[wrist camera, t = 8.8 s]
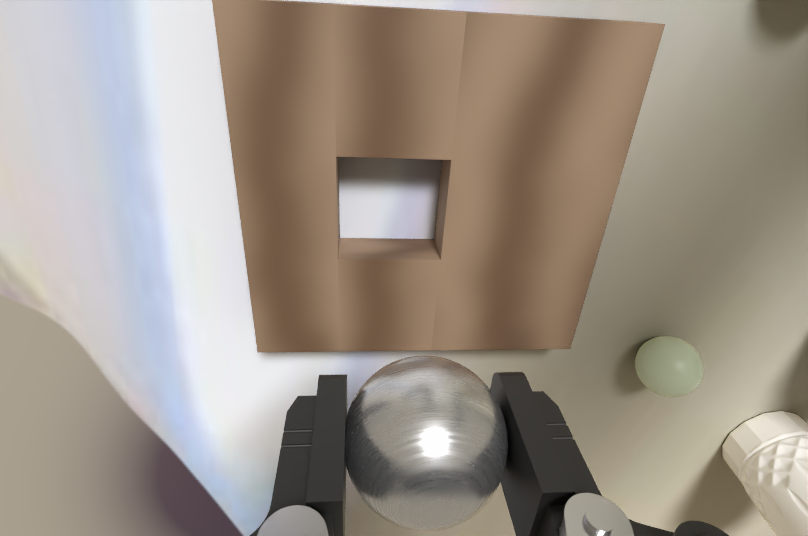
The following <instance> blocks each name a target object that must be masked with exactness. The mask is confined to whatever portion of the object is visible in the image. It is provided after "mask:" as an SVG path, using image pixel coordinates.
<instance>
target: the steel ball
mask: <svg viewBox="0 0 808 536" xmlns="http://www.w3.org/2000/svg"><path fill="white" fill-rule="evenodd" d="M507 454H508V437H507V428H506V424H505V420H504V416H503V413H502V411H501V409H500V406H499V404H498V402H497V400H496V398H495V397H494V395H493V394H492V392H491V391H490V389H489V388H488V386H487V385H486V384H485V383H484V382H483V381H482V380H481V379H480V378H479V377H478V376H477V375H475V374H474V373H473V372H471V371H470V370H469V369H467V368H466V367H464V366H462V365H460V364H458V363H456V362H453V361H451V360H448V359H445V358H441V357H435V356H414V357H408V358H404V359H401V360H398V361H395V362H393V363H390V364H389V365H387V366H385V367H383V368H382V369H380V370H379V371H378V372H376V373H375V374H374V375H373V376H372V377H370V378H369V379H368V380H367V381H366V383H365V384H364V385H363V386H362V387H361V389H360V390H359V392H358V393H357V395H356V396H355V398H354V400H353V402H352V404H351V406H350V409H349V411H348V415H347V418H346V467H347V470H348V473H349V475H350V478H351V481H352V483H353V484H354V486H355V488H356V490H357V491H358V493H359V495H360V496H361V497H362V499H363V500H364V501H365V502H366V503H367V504H368V506H369V507H370V508H371V509H372V510H374V511H375V512H376V513H377V514H379V515H380V516H381V517H383V518H384V519H386V520H387V521H390V522H392V523H394V524H396V525H398V526H400V527H403V528H407V529H412V530H418V531H437V530H443V529H447V528H450V527H453V526H456V525H458V524H460V523H462V522H464V521H466V520H468V519H469V518H471V517H472V516H474V515H475V514H476V513H477V512H478V511H480V510H481V509H482V508H483V507H484V506H485V505H486V504H487V502H488V501H489V500H490V498H491V497H492V496H493V494H494V493H495V491H496V489H497V487H498V486H499V483H500V481H501V479H502V476H503V473H504V470H505V466H506V461H507Z"/></svg>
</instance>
